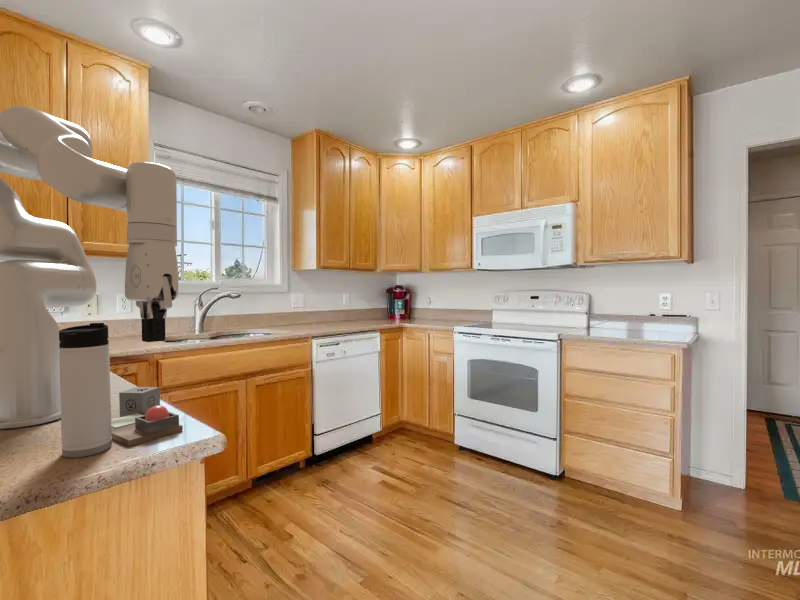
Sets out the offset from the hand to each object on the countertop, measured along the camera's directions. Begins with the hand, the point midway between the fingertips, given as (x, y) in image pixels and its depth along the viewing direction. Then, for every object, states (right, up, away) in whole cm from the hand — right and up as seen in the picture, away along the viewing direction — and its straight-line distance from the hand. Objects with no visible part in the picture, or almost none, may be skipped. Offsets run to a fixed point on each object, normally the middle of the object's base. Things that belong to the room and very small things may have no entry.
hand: (153, 340), depth 72 cm
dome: (+1, -15, 0) cm, 15 cm away
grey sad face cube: (-10, -17, +12) cm, 23 cm away
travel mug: (-6, -17, -7) cm, 19 cm away
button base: (-4, -16, +2) cm, 17 cm away
